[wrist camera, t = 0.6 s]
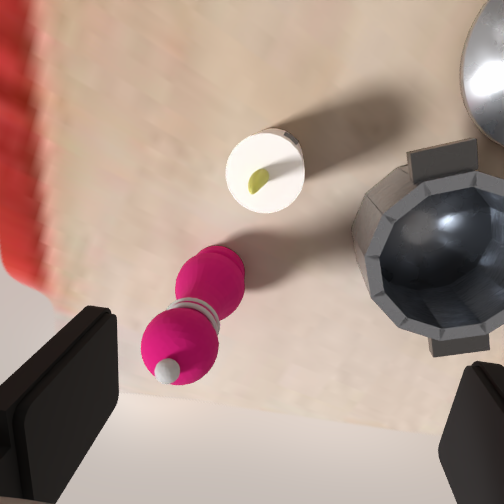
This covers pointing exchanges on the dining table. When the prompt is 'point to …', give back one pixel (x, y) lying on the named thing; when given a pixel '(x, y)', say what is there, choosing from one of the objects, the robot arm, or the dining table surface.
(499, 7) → the lid
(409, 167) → the pot
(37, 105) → the dining table surface
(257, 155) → the candle
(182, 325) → the pepper mill
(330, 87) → the dining table surface
